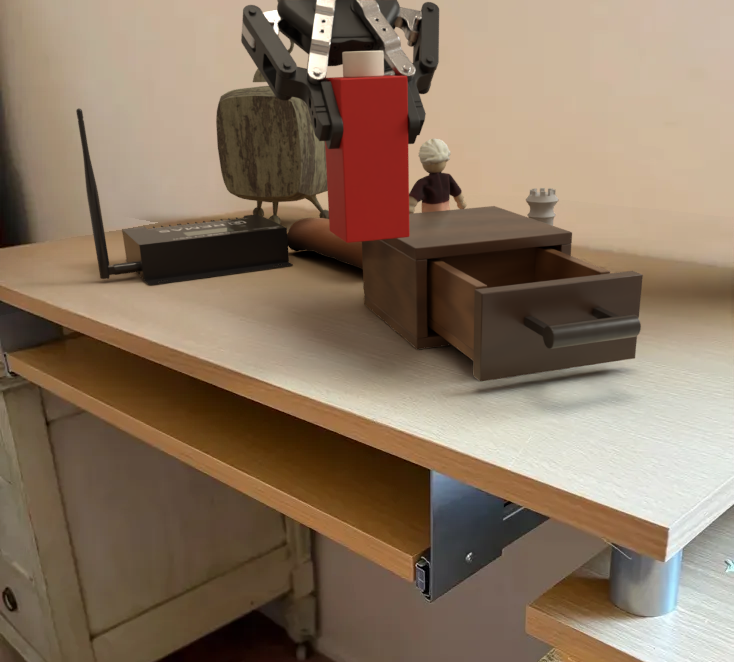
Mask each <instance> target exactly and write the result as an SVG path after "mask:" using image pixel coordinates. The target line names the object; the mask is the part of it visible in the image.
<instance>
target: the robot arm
mask: <svg viewBox="0 0 734 662" xmlns="http://www.w3.org/2000/svg"><path fill="white" fill-rule="evenodd" d="M276 1H277V5H276V8H275V9H272V10H269V11H264V12H263V10H262V9H261V7H259V6H258V5H255V4H248V5H245V6H244V7H243V9H242V20H241V21H242V22H241V35H240V36H241V39H240V42H241V44H242V45H243V47H244V49H245V51H246V52H247V53H248V55H249V57H250V58H251V60H252V61H253V63H254V64H255V66H256V68H257V69H259V71H260V72H261V74H262V76H263V77H264V79H265V80H266V82H265V83H267V86H269V87H270V88H271V90H272V91H273V93H274V95H275V96H276V97H277V98H278V99H280V100H283V101H286V100H289V99H291V98H292V97H296V98H299V99H301V100H303V101H304V103H305V104H306V105H307V107H308V111H309V114H310V118H311V122H312V126H313V130H314V133H315V136H316V137H317V138H318V140H319V141H326V145H327V148H328V149H339V147H340V143H341V139H342V136H343V130H344V128H343V121H342V117H341V115H340V112H339V108H338V105H337V101H336V98H335V94H334V91H333V87H332V84H331V81H328V82H326V78H327V75H328V74H327V73H328V67H338V66H343V60H342V53H343V52H353V51H383V52H384V75H393V76H407V81H408V145H414V144H415V143H416V140H417V137H418V136H420V134H421V132H422V129H423V126H424V123H425V121H426V115H427V113H426V110H425V108H424V104H423V102H422V98H421V95H426V94H428V93H429V92H430V89H431V86H432V81H433V78H434V76H435V73H436V70H437V69H438V66H439V63H440V61H439V59H440V55H439V54H440V8H439V6H438V5H437V4H436V3H435V2H431V1H426V2H424V3H422V6H421V9H420V10H417V9H412V8H408V7H402V6H400V3H399V1H398V0H276ZM396 28H398V29H400V30H401V31H402V32H403V33H404V37H405V39H406V40H407V46H408V47H411V48H412V61H411V60H410V58H409V56H407V53H405V51H404V50H403V48H402V44H401V43H402V42H401V38H400V36H399V35H398V33H397V32H396V31H395V30H396ZM280 33H281V34H282V35H284V36H285V37H286V38H287V39H290V40H291V41H292V42H294V45H296V46H297V47H298V48H299V49H301V50H302V51H304V52H305V53H306V54H307V62H306V63H307V64H306V68H305V67H301V66H298V65H297V62H296V61H295V60H294V58H293V57H292V55H291V53H289V52H288V49H287V47H286V45H285V44H284V42H283V41H282V40H281V38H280ZM290 40H289V41H290Z"/></svg>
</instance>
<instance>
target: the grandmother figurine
mask: <svg viewBox="0 0 734 662" xmlns="http://www.w3.org/2000/svg"><path fill="white" fill-rule="evenodd" d="M448 146H449V145H448V144H447V143H445V141H443V140H442V138H441V139H439V138H430V139H428V140H426V141H425V142H423V143H422V144H421V146H420V147H419V150H418V151H419V152H418V157H419V161H420V163H421V165H422V168H423V170H424V171H425V172H426V173H428V175H425V176H424V177H421V178H419V179H418V180H416V181H415V183H414V185H413V186H412V188H411V190H409V214H412V213H415V210H416V207H417V206H418V203H420V202H421V213H423V212H434V211H445V210H451V207H450V206H451V205H450V198H451V197H453V200H454V202H455V203H456V207H457V209H466V207H467V205H468V204H467V201H466V200H465V196H464V194H463V191H462V188H461V187H460V185H459V184H458V182H457V181H456V180H455V178H454V177H453V176H452V175H451V174H450V173H448V172H443V171H444V170H445V168H446V166H447V162H449V161H450V159H451V157H450V156H451V150H450V148H449V147H448ZM450 196H451V197H450Z"/></svg>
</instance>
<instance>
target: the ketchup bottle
mask: <svg viewBox="0 0 734 662" xmlns="http://www.w3.org/2000/svg"><path fill="white" fill-rule="evenodd" d="M342 60H343V64H342V76H333V77H326V82H328V81H331V84H332V87H333V91H334V94H335V98H336V101H337V105H338V108H339V112H340V115H341V117H342V121H343V128H344V130H343V136H342V139H341V143H340V147H339V149H328V148H327V145H326V141H325V148H326V168H327V188H328V191H327V204H328V206H327V208H328V211H329V228H330V232H332V233H333V234H335V235H336V236H338V237H339V238H341V239H342V240H344V241H345V242H346V243H352V242H362V241H373V240H383V239H393V238H404V237H409V236H410V234H409V193H410V174H409V173H410V170H409V165H410V163H409V159H410V158H409V144H408V81H407V76H393V75H384V52H383V51H353V52H343V53H342Z"/></svg>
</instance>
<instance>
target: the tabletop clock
mask: <svg viewBox="0 0 734 662" xmlns="http://www.w3.org/2000/svg"><path fill="white" fill-rule="evenodd" d="M288 39H289V38H288ZM289 42H290V44H289V48H288V49H287V50H288V52H289V53H290V54H292V52H293V50H294V47H295V43H294V42H292V41H291V40H290V39H289ZM252 79H253V80H252V83H267V82H266V80H265V79H264V77H263V76H262V74H261V72H260V71H259V69H258V68H257V69H256V70H255V72H254V73H253V77H252ZM215 119H216V120H215V122H216V124H215V125H216V141H217V142H216V143H217V144H216V145H217V152H218V158H219V166H220V173H221V177H222V181H223V184H224V185H225V188H226V190H227V191H228V192H229V194H231V195H232V196H235V197H237V198H239V199H242V200H247V201H254V202H256V207H254V209H253V210H252V215H255V214H258V215H260V216H262V217H264V216H265V210H264V209H263V208H262V205H263V203H272V215H270V217H269V218H268V219H269V220H271V221H273V222H276V223H278V224H280V225H281V218H280V216H278V209H279V203H286V202H287V203H289V202H297V201H301V200H307V201H309V202H310V203H311V204H313V206H314V207H315V208H316V209H317V210H318V211H319V217H318V218H325V219H329V209H323V207H322V205H321V204H320V202H319V200H318V198H317V195H320V194H322V193H326V192H328V188H327V168H326V148H325V141H319V140H318V138H317V137H316V136H315V133H314V130H313V126H312V122H311V118H310V114H309V111H308V107H307V105H306V104H305V103H304V101H303V100H301V99H299V98H296V97H292V98H291V99H289V100H286V101H283V100H280V99H278V98H277V97H276V96H275V95H274V93H273V91H272V90H271V88H270V87H269V85H262V86H261V85H260V86H253V87H252V86H251V87H243V88H237V89H232V90H230V91H227V92H226V93H223V94H221V96H220V97H219V101H218V104H217V109H216V118H215Z"/></svg>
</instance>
